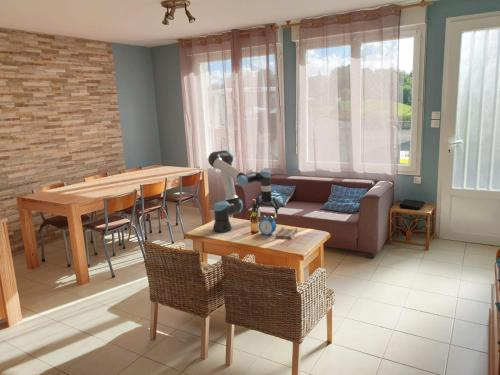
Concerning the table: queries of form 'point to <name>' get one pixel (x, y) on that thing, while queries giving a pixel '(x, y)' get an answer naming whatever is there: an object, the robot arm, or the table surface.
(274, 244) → the table surface
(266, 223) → the alarm clock
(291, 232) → the plinth
